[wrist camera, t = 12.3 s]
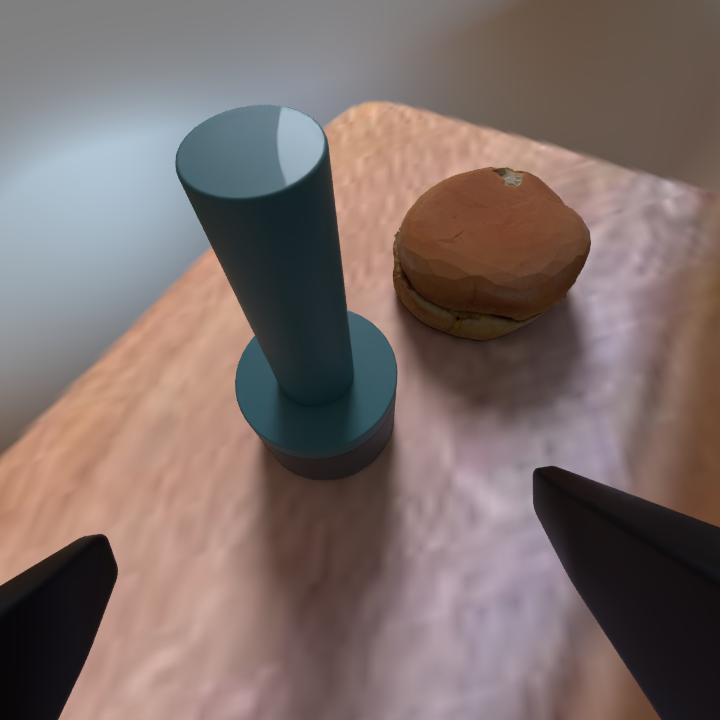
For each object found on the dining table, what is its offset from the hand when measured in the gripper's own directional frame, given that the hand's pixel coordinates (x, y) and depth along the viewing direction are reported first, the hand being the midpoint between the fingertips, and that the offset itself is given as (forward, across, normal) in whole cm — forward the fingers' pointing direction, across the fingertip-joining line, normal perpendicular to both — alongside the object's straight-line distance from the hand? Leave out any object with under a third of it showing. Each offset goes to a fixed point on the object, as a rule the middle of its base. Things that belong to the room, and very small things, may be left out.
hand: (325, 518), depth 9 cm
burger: (+17, -9, -3) cm, 19 cm away
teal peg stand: (+11, 0, +2) cm, 12 cm away
